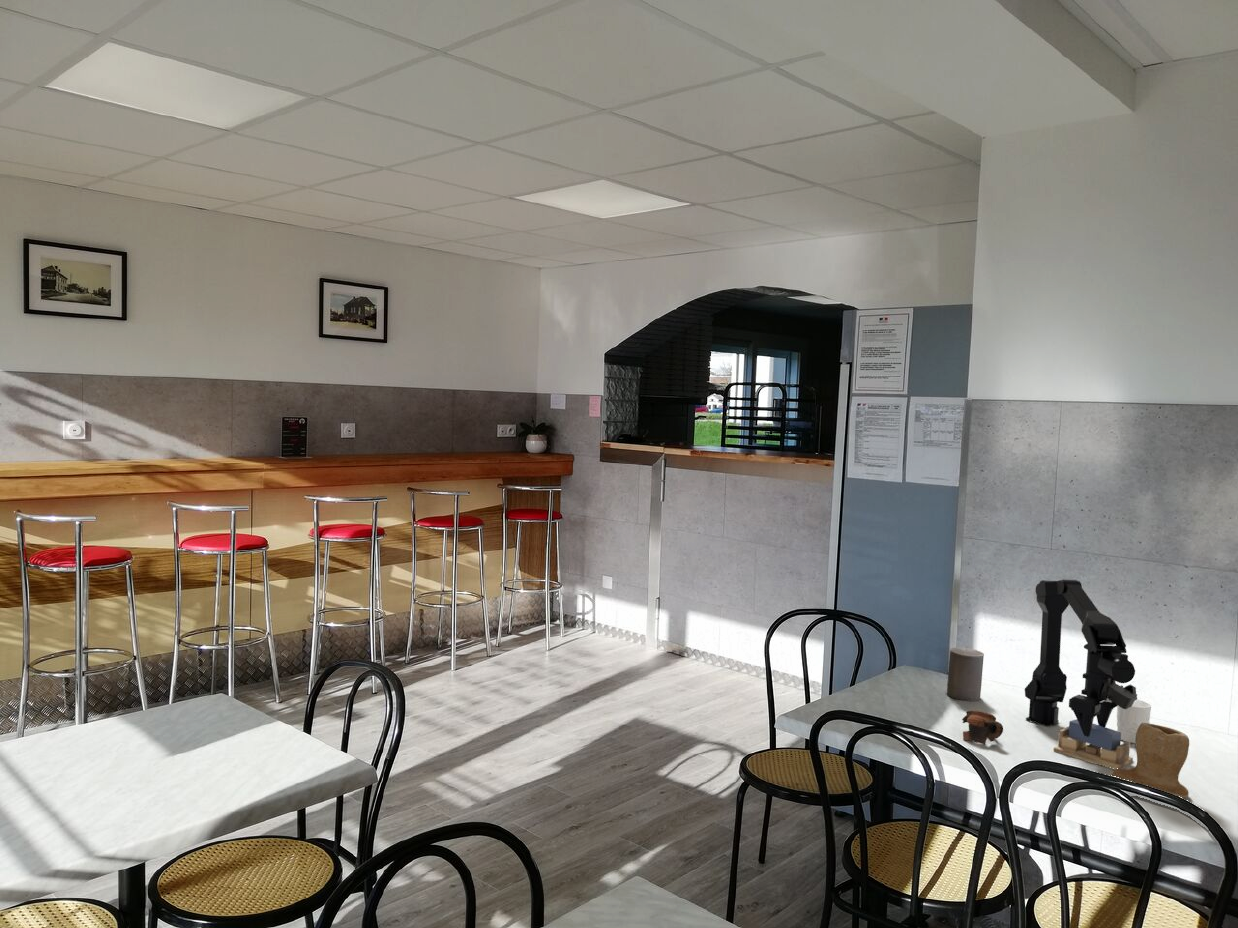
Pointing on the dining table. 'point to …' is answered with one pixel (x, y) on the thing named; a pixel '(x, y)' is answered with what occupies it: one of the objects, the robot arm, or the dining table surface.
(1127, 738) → the white cup
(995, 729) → the pottery mug
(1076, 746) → the display cradle
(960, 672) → the pillar candle
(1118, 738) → the tall slate-blue box
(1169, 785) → the stone cup
